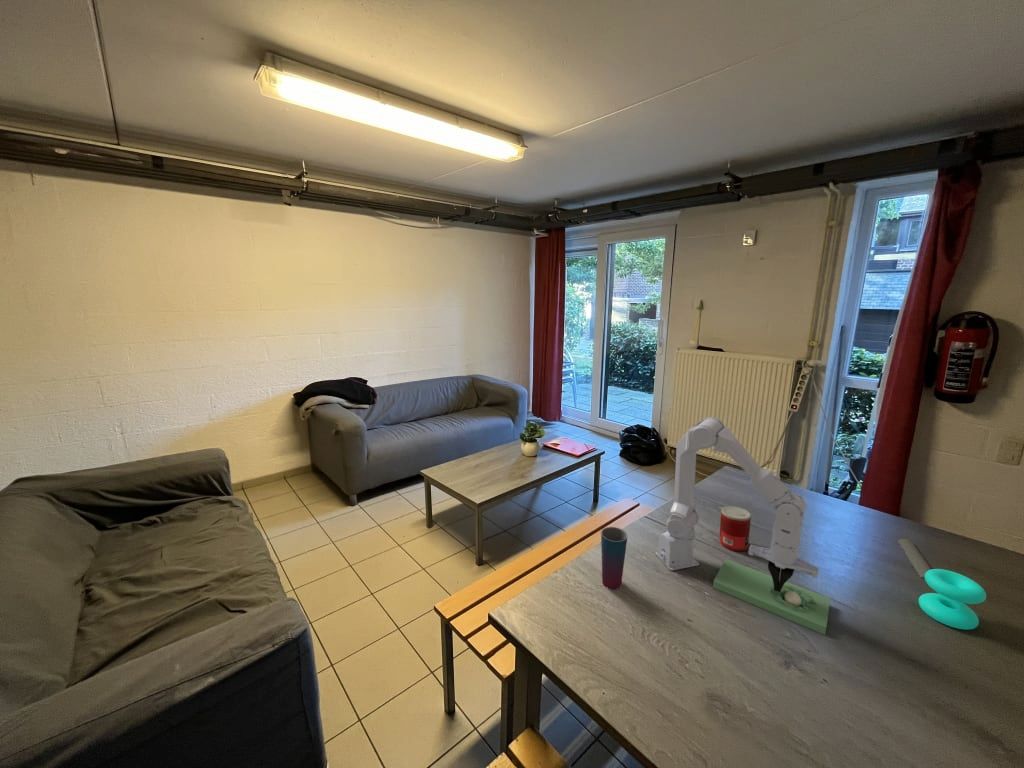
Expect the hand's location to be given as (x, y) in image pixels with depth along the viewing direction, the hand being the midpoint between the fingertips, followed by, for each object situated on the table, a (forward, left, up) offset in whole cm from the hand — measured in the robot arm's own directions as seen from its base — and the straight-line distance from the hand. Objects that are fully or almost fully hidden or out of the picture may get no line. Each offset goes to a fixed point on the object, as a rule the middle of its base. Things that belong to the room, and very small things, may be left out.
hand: (777, 589), depth 103 cm
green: (-1, +1, -3) cm, 3 cm away
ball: (+2, -3, -1) cm, 4 cm away
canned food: (+7, +22, -3) cm, 23 cm away
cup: (-38, +16, -3) cm, 41 cm away
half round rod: (+53, +2, -4) cm, 53 cm away
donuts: (+35, -15, -3) cm, 38 cm away
